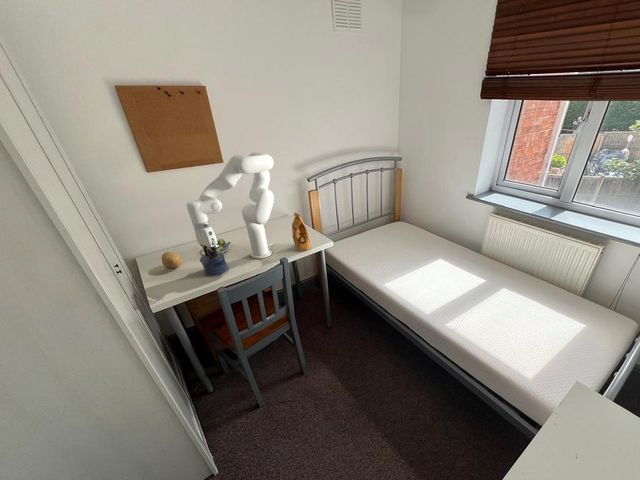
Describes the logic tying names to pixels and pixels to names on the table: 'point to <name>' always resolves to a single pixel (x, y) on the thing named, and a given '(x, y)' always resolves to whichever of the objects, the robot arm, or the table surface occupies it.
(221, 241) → the salad plate
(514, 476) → the table surface
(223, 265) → the pot
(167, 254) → the potato
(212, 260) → the lid
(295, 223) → the coffee package
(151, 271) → the table surface
